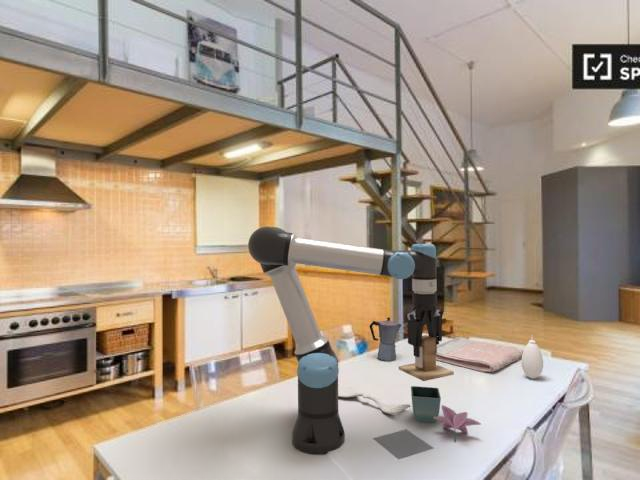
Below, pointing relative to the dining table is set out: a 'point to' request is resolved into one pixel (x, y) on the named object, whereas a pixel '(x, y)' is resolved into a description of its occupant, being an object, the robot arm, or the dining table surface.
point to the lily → (455, 420)
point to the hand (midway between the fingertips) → (425, 365)
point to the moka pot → (386, 339)
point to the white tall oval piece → (532, 360)
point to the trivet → (403, 443)
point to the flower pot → (425, 403)
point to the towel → (477, 354)
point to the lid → (427, 363)
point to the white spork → (390, 409)
